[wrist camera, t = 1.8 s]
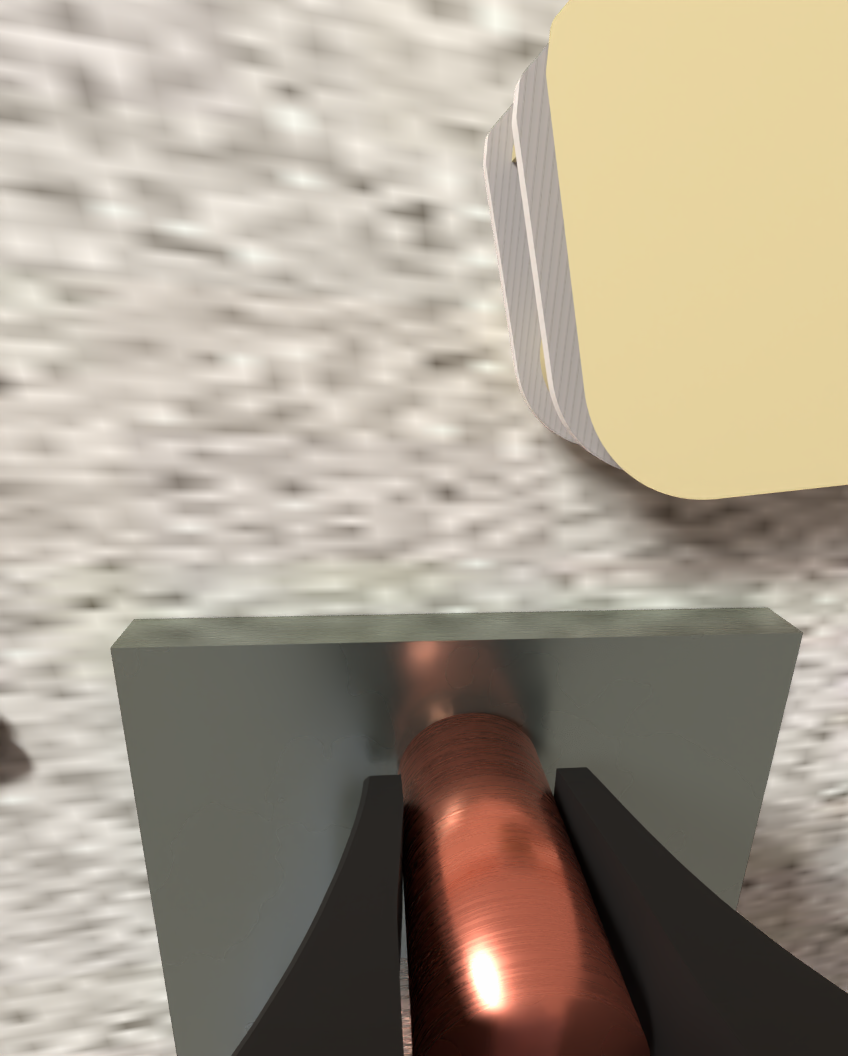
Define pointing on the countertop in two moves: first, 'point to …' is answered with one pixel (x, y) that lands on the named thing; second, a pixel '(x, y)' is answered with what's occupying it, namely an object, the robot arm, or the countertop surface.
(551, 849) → the ram
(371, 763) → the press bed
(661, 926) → the robot arm
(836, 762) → the countertop surface
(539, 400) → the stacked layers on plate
